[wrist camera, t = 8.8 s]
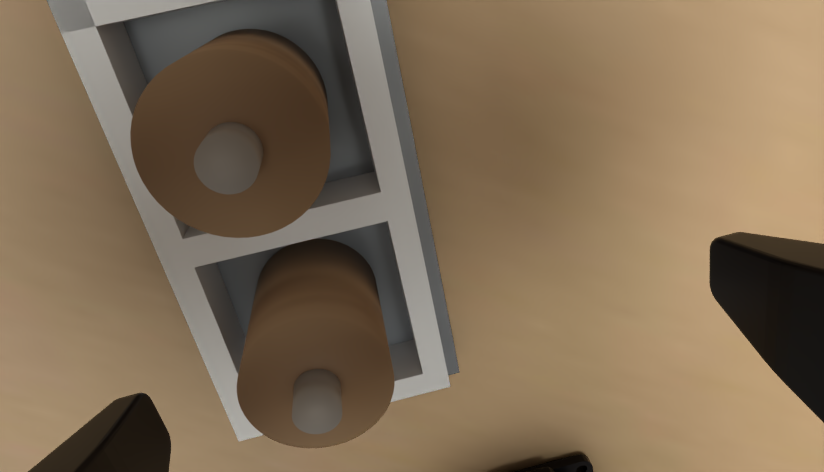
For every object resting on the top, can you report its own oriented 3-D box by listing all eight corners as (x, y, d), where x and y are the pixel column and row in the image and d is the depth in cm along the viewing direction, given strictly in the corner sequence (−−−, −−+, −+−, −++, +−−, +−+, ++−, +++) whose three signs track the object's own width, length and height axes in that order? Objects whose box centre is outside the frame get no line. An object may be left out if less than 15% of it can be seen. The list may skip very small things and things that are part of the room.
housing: (453, 356, 22) (472, 408, 19) (243, 410, 22) (232, 470, 19) (361, -109, 15) (370, -130, 13) (52, -46, 15) (-8, -54, 12)
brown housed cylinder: (387, 326, 20) (413, 453, 14) (276, 354, 20) (260, 493, 14) (361, 225, 18) (379, 326, 13) (240, 255, 18) (206, 370, 13)
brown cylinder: (340, 154, 17) (350, 236, 12) (209, 180, 17) (158, 276, 12) (309, 16, 15) (304, 37, 10) (163, 43, 15) (77, 79, 10)
